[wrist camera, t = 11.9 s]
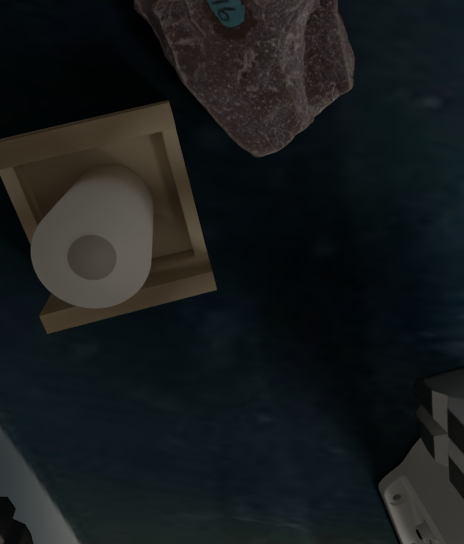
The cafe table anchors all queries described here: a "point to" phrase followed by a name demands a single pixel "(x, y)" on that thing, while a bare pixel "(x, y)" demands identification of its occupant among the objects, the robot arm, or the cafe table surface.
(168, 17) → the rock
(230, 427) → the cafe table surface
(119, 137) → the holder
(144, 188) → the roll
